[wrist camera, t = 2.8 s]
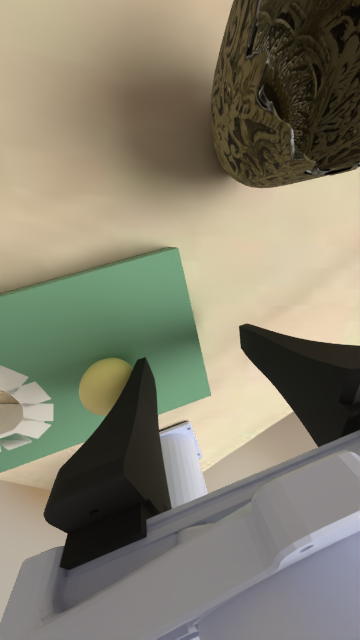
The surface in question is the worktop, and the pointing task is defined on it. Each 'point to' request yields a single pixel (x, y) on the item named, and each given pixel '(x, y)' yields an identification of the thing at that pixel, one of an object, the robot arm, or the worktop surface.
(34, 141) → the worktop surface
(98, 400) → the ball
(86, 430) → the green rectangular slab
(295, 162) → the cup
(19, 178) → the worktop surface
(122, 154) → the worktop surface
